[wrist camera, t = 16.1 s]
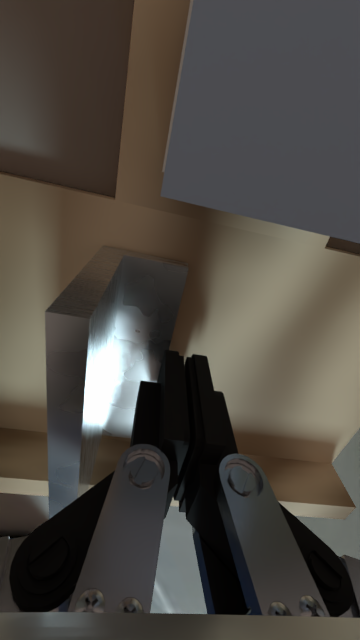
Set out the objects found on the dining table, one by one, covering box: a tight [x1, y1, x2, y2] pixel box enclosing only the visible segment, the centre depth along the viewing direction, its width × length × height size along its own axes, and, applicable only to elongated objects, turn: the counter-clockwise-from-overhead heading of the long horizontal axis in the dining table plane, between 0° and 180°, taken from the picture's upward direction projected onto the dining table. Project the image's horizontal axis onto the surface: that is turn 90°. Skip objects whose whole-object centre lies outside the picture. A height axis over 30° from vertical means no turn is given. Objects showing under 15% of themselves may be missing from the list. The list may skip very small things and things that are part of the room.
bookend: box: [45, 245, 189, 519], centre depth 9 cm, size 3×9×5 cm, turn 168°
